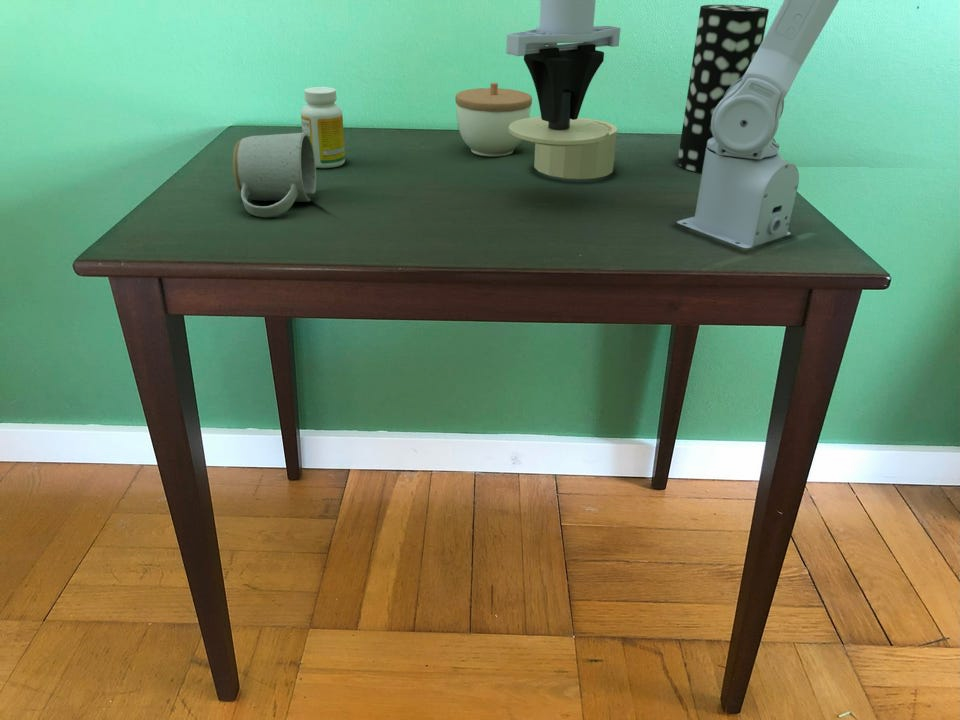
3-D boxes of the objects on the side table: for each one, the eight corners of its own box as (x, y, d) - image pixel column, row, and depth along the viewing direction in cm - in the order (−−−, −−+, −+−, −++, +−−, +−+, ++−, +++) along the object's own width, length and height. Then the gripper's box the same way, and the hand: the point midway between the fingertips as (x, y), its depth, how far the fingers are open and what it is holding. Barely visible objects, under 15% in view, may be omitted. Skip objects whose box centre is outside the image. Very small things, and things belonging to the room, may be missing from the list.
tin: (628, 174, 102) (633, 129, 99) (570, 187, 97) (574, 140, 94) (575, 156, 109) (578, 114, 106) (518, 168, 104) (520, 123, 101)
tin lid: (628, 141, 86) (634, 94, 84) (553, 156, 80) (557, 105, 78) (561, 121, 94) (564, 77, 91) (488, 133, 88) (489, 87, 85)
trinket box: (523, 163, 106) (526, 93, 101) (447, 157, 107) (447, 88, 103) (534, 144, 115) (537, 78, 110) (464, 139, 117) (464, 74, 112)
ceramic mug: (251, 188, 94) (242, 124, 90) (319, 189, 94) (313, 125, 90) (228, 219, 85) (216, 150, 81) (302, 220, 85) (295, 151, 81)
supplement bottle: (298, 167, 102) (291, 92, 97) (314, 156, 107) (308, 84, 102) (337, 170, 101) (331, 94, 96) (351, 159, 106) (346, 86, 101)
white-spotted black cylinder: (716, 177, 102) (745, 13, 92) (665, 163, 107) (687, 6, 97) (750, 166, 107) (781, 9, 97) (700, 154, 112) (724, 3, 102)
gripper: (592, -21, 86) (582, 105, 93) (489, -17, 78) (486, 120, 85) (639, -16, 81) (624, 116, 88) (534, -11, 73) (527, 133, 80)
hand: (559, 119), depth 86 cm, fingers closed on tin lid, 2 cm apart
